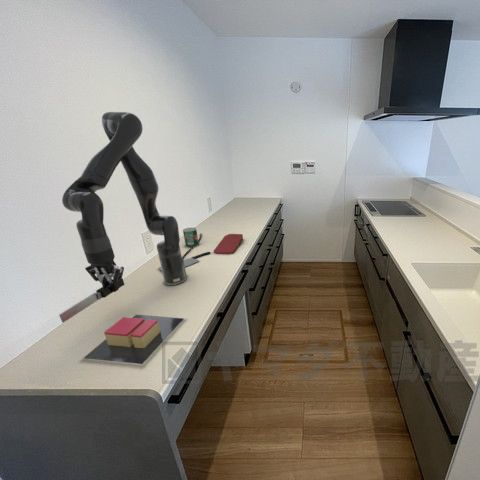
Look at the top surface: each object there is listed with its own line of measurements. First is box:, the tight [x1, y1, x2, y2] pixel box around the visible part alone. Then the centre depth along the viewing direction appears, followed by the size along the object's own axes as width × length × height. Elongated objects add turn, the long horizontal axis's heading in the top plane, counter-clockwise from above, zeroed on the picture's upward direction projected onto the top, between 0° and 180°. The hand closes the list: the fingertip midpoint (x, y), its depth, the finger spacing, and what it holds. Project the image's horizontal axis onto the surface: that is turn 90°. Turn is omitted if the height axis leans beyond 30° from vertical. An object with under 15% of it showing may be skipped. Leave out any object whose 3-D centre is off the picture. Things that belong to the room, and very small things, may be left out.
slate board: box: [83, 314, 184, 365], centre depth 92 cm, size 22×20×1 cm
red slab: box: [213, 233, 244, 255], centre depth 171 cm, size 12×5×25 cm
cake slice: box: [131, 319, 160, 348], centre depth 89 cm, size 8×4×5 cm, turn 174°
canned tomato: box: [182, 227, 200, 249], centre depth 170 cm, size 8×8×11 cm
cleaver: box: [158, 251, 211, 272], centre depth 148 cm, size 29×1×10 cm
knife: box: [58, 277, 125, 323], centre depth 91 cm, size 22×2×3 cm, turn 174°
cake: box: [103, 316, 145, 347], centre depth 90 cm, size 8×8×5 cm
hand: (111, 290), depth 97 cm, fingers closed on knife, 2 cm apart
